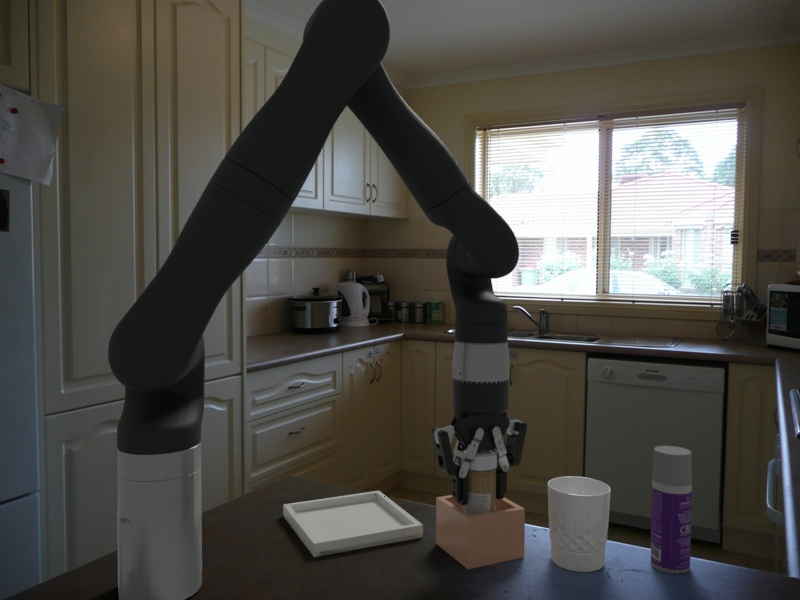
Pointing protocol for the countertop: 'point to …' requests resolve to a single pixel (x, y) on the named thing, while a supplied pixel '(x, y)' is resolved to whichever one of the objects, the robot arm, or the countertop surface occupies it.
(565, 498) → the white cup
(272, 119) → the robot arm
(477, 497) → the sprinkles bottle
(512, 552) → the pot
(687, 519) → the container
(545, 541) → the countertop surface
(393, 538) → the tray
